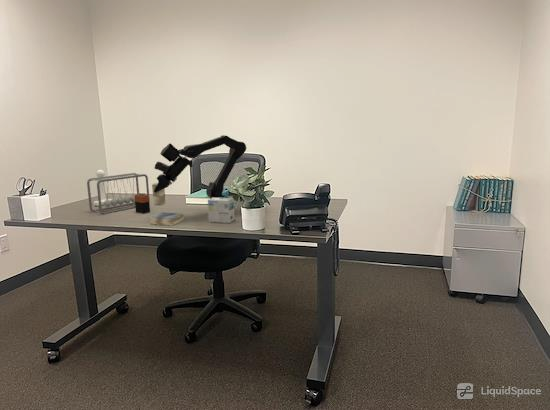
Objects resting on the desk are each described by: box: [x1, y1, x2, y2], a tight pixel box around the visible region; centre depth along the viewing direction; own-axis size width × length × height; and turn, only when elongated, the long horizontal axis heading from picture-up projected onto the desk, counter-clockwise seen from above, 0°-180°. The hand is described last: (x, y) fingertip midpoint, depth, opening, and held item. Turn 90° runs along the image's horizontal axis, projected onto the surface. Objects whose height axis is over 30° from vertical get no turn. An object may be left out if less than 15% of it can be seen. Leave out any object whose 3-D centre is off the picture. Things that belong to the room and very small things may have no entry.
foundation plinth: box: [149, 212, 185, 227], centre depth 191 cm, size 11×11×3 cm
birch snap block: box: [151, 182, 167, 207], centre depth 196 cm, size 5×5×10 cm
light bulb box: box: [207, 197, 236, 224], centre depth 191 cm, size 11×7×11 cm, turn 77°
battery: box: [134, 192, 151, 214], centre depth 212 cm, size 4×7×10 cm, turn 54°
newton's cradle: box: [86, 172, 151, 215], centre depth 221 cm, size 30×10×18 cm, turn 143°
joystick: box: [92, 169, 113, 207], centre depth 231 cm, size 11×8×20 cm
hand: (155, 191), depth 196 cm, fingers closed on birch snap block, 5 cm apart
